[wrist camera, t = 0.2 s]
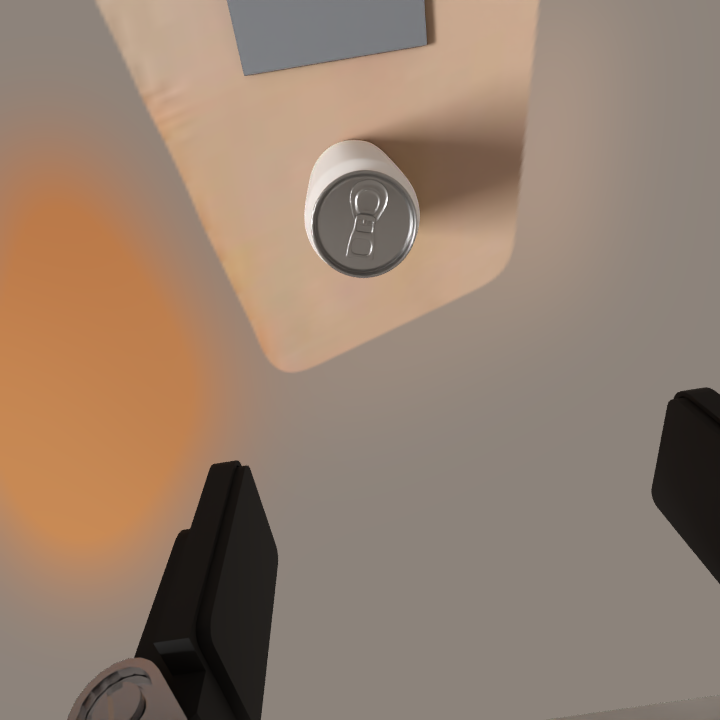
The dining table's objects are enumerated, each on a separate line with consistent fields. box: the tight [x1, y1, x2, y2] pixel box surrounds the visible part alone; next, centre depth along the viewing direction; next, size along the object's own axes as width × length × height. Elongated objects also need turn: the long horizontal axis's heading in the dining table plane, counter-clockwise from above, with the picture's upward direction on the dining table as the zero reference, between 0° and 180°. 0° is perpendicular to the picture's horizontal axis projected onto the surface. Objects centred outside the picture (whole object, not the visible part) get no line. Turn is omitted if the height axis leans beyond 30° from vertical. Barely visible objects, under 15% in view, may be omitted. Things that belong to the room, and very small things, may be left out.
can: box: [304, 140, 420, 278], centre depth 30 cm, size 6×6×12 cm
